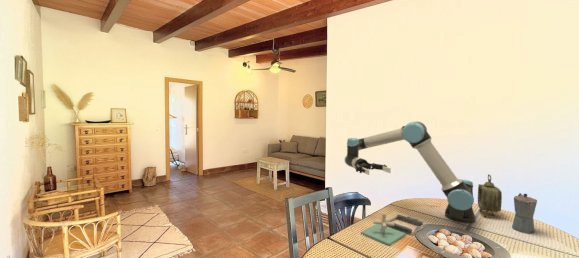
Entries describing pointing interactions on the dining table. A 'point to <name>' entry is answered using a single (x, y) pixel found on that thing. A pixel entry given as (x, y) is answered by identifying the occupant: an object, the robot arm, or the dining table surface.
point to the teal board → (383, 234)
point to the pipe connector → (383, 223)
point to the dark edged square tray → (407, 220)
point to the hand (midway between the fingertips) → (379, 171)
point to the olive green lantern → (489, 197)
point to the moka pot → (524, 213)
